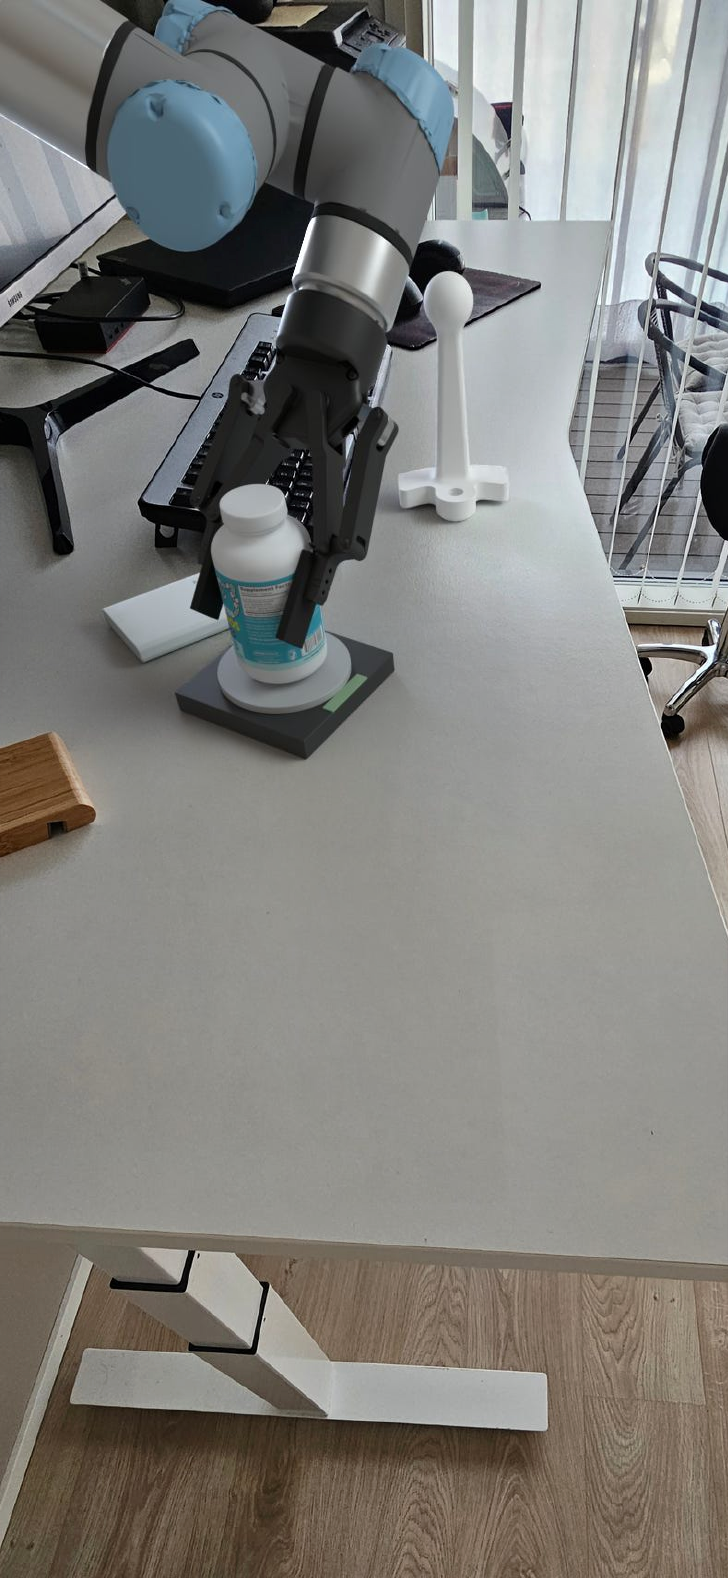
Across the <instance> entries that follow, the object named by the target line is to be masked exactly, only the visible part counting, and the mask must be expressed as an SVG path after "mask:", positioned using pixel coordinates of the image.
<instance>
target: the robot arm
mask: <svg viewBox="0 0 728 1578" xmlns="http://www.w3.org/2000/svg"><path fill="white" fill-rule="evenodd" d="M0 116H1V117H3V118H4V119H6V120H8V121H9V122H10V123H12V124H14V125H16V126H17V127H19V128H21V129H22V130H23V131H26V132H27V133H28V134H30V135H32V136H34V137H35V138H37V139H39V140H41V141H42V142H44V143H45V144H46V145H48V146H50V147H52V148H53V149H55V150H57V151H58V152H60V153H62V154H63V155H65V156H67V157H68V158H70V159H71V160H73V161H75V162H76V163H78V164H80V165H82V166H83V167H85V168H87V169H88V170H90V171H91V172H93V173H94V174H96V175H97V176H100V177H101V178H102V179H104V180H106V181H107V182H109V183H111V186H112V188H113V191H114V194H115V196H116V199H117V201H118V203H119V205H120V206H121V208H122V209H123V210H124V212H125V213H126V214H127V216H128V217H129V219H130V220H131V222H133V224H134V225H135V226H136V228H137V229H138V230H139V231H140V232H141V233H142V234H143V235H144V236H146V237H147V238H149V240H151V241H153V242H154V243H156V244H158V245H160V246H162V247H164V248H167V249H170V250H174V251H177V252H186V253H188V252H196V251H200V250H201V251H202V250H204V249H206V248H209V247H211V246H213V245H214V244H216V243H217V242H219V241H220V240H221V239H223V237H225V236H226V235H227V234H228V233H230V232H231V231H233V230H234V228H235V227H236V226H238V225H239V224H240V223H241V222H243V221H242V220H243V219H244V217H245V215H246V214H247V212H248V210H251V207H252V204H253V203H254V199H255V197H256V195H257V193H258V191H259V190H260V189H261V188H262V186H263V185H264V184H268V185H271V186H273V187H274V188H277V189H279V190H281V191H284V192H285V193H287V194H290V195H292V196H294V197H296V198H298V199H301V200H303V201H307V202H309V203H311V204H314V206H313V210H312V214H311V215H310V219H309V224H308V226H307V229H306V232H305V236H304V240H303V243H302V246H301V249H300V253H299V255H298V256H299V257H298V259H297V262H296V266H295V269H294V272H293V276H292V279H291V281H292V286H293V289H294V291H293V292H291V293H290V294H288V296H287V299H286V302H285V306H284V308H283V312H282V316H281V319H280V323H279V326H278V329H277V333H276V337H275V360H274V364H273V365H272V367H271V369H270V370H269V371H268V372H267V374H266V375H265V377H264V379H252V380H249V379H246V378H245V377H244V376H243V375H241V374H240V373H234V374H233V375H232V376H231V377H230V379H229V382H228V390H227V400H226V406H225V409H224V412H223V414H222V417H221V419H220V422H219V424H218V426H217V429H216V431H215V434H214V436H213V439H212V442H211V444H210V446H209V449H208V451H207V453H206V454H207V455H206V456H205V459H204V461H203V463H202V466H201V467H200V468H201V469H200V471H199V474H198V476H197V479H196V481H195V483H194V486H193V488H192V491H191V493H190V496H189V503H190V505H191V506H192V507H193V508H195V509H196V510H198V511H199V512H200V513H201V514H202V515H204V517H205V520H206V525H205V529H204V533H203V537H202V539H201V544H200V547H199V550H198V554H197V564H198V565H199V566H201V567H200V571H199V573H200V574H199V578H198V581H197V585H196V588H195V592H194V595H193V599H192V602H191V606H190V609H192V610H194V611H197V612H199V613H201V614H203V615H206V616H208V617H210V618H213V619H216V620H219V617H220V613H221V610H222V606H223V600H222V596H221V592H220V588H219V584H218V580H217V576H216V572H215V568H214V564H213V559H212V554H211V545H212V541H213V538H214V536H215V534H216V532H217V531H218V530H219V529H220V528H221V526H223V525H224V523H223V521H222V516H221V511H220V500H221V499H222V497H223V496H224V495H225V494H226V493H228V492H229V491H231V490H233V489H235V488H238V487H241V486H245V485H251V484H265V485H267V483H268V481H269V480H270V478H271V477H272V475H273V474H274V472H275V471H276V469H277V468H278V466H279V465H280V463H282V461H283V460H287V459H288V458H290V456H291V455H292V454H293V452H294V450H298V451H299V450H300V451H301V450H308V452H309V455H310V457H311V464H312V466H311V467H312V468H311V469H312V523H313V524H312V525H313V526H312V527H313V531H312V532H313V541H311V543H310V542H309V547H310V548H311V549H312V551H314V552H315V553H314V552H313V553H312V552H310V551H307V550H303V549H302V552H301V555H300V558H299V561H298V565H297V568H296V571H295V575H294V578H293V581H292V584H291V588H290V591H289V594H288V597H287V601H286V604H285V607H284V610H283V614H282V617H281V620H280V624H279V627H278V630H277V633H276V637H275V638H277V639H279V640H281V641H284V642H286V643H288V644H290V645H292V646H295V647H298V648H301V649H303V645H304V642H305V639H306V636H307V633H308V629H309V626H310V623H311V620H312V617H313V613H314V610H315V607H316V604H318V605H321V607H323V606H324V605H325V603H326V602H327V601H328V598H329V594H330V591H331V588H332V585H333V582H334V578H335V575H336V572H337V569H338V567H339V565H340V564H341V563H342V562H345V561H353V560H355V561H357V562H362V561H364V560H365V559H366V558H367V556H368V553H369V547H370V542H371V537H372V532H373V528H374V527H373V526H374V521H375V516H376V510H377V506H378V502H379V501H378V500H379V495H380V490H381V486H382V480H383V475H384V470H385V465H386V464H385V463H386V459H387V455H388V454H389V452H390V450H391V448H392V446H393V444H394V442H395V440H396V438H397V436H398V435H399V428H400V427H399V425H398V424H397V423H396V421H395V420H394V419H393V418H392V417H391V416H390V415H389V414H388V413H387V412H386V411H385V410H384V409H383V408H382V407H381V406H374V407H372V406H370V404H369V392H370V391H371V390H372V389H373V388H374V387H375V385H376V383H377V378H378V375H379V372H380V369H381V365H382V362H383V361H384V360H383V359H384V356H385V353H386V349H387V347H388V339H387V336H386V333H388V332H390V331H391V330H392V329H393V326H394V322H395V319H396V316H397V312H398V309H399V306H400V304H401V300H402V297H403V293H404V290H405V287H406V284H407V281H408V277H409V275H410V270H411V268H412V264H413V261H414V259H415V255H416V252H417V249H418V246H419V243H420V240H421V236H422V234H423V230H424V227H425V223H426V222H427V218H428V215H429V212H430V209H431V206H432V203H433V200H434V197H435V194H436V191H437V187H438V185H439V182H440V177H441V174H442V170H443V167H444V162H445V158H446V154H447V150H448V147H449V144H450V139H451V135H452V131H453V127H454V123H455V105H454V99H453V96H452V93H451V90H450V88H449V86H448V84H447V83H446V81H445V79H444V78H443V76H442V75H441V74H440V73H439V72H438V70H437V69H436V68H435V67H434V66H433V65H432V64H430V62H429V61H427V60H426V59H425V58H424V57H422V56H421V55H419V54H418V53H416V52H414V51H413V50H410V49H409V48H406V47H404V46H401V45H399V46H396V47H395V48H392V47H391V46H390V45H388V44H387V43H385V42H377V43H373V44H370V45H369V46H366V47H365V48H364V49H363V50H361V52H359V54H358V56H357V59H356V61H355V63H354V65H352V66H351V67H350V70H349V72H348V71H346V70H344V69H341V68H340V67H338V66H337V67H334V66H332V65H330V64H328V63H325V62H323V61H321V60H319V59H318V58H316V57H314V56H312V55H310V54H308V53H306V52H304V51H303V50H301V49H299V48H297V47H295V46H293V45H291V44H289V43H287V42H285V41H283V40H282V39H279V38H278V37H276V36H274V35H272V34H270V33H268V32H266V31H264V30H262V29H261V28H259V27H257V26H255V25H253V24H251V23H249V22H247V21H245V20H243V19H242V18H240V17H238V16H237V15H236V14H235V13H233V11H232V10H230V9H228V8H226V7H224V6H222V5H221V6H215V5H213V4H211V3H208V2H205V1H203V0H167V2H166V3H165V5H164V7H163V10H162V15H161V17H160V18H159V19H158V21H157V24H156V27H155V32H154V34H153V35H151V34H150V33H149V32H147V31H145V30H143V29H142V28H141V27H139V26H137V25H135V23H133V22H131V21H130V19H128V18H127V17H126V16H124V15H122V14H121V12H119V11H117V10H115V9H113V8H112V7H110V6H109V5H108V4H107V3H105V2H103V1H102V0H0ZM265 403H266V409H265V407H264V405H265ZM259 416H260V418H259ZM356 429H357V434H358V436H357V439H356V441H355V445H354V446H355V447H354V449H353V450H354V451H353V456H352V462H351V467H350V470H349V471H350V472H349V476H348V483H347V488H346V493H345V498H344V469H346V468H347V438H348V437H349V436H350V435H351V434H352V433H353V432H354V431H355V430H356ZM274 434H275V435H276V437H277V438H276V437H275V436H274Z"/></svg>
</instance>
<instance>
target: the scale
mask: <svg viewBox="0 0 728 1578" xmlns="http://www.w3.org/2000/svg"><path fill="white" fill-rule="evenodd" d="M325 634H326V641H327V655H326V658H325V660H324V662H323V664H322V665H321V666H320V667H319V668H318V669H317V670H316V671H315V672H314V673H312V674H311V675H309V676H307V677H305V678H303V679H301V680H298V681H294V682H290V683H283V684H272V683H265V682H261V681H258V680H255V679H253V678H251V677H250V676H248V675H247V674H246V673H245V672H244V671H243V670H242V669H241V667H240V665H239V663H238V661H237V657H236V653H235V649H234V645H233V642H232V643H231V644H230V645H229V646H227V647H226V648H225V649H224V650H223V651H222V652H221V653H220V654H218V655H217V656H216V657H215V658H214V659H211V661H210V662H209V663H207V664H206V665H205V666H204V667H203V668H202V669H200V670H199V671H198V672H197V673H196V674H195V675H194V676H192V677H191V678H190V679H188V681H186V682H185V683H184V684H183V685H182V686H180V687H179V688H178V689H176V691H174V696H175V699H176V703H177V706H178V709H179V711H182V712H183V713H187V714H189V715H191V716H194V717H197V718H200V719H201V720H204V721H207V722H210V723H212V724H215V725H218V726H219V727H223V728H225V729H227V730H230V731H233V732H236V733H238V734H239V735H243V736H246V737H249V738H250V739H253V740H255V741H258V742H261V743H264V744H266V745H268V746H272V747H274V748H277V749H279V750H282V751H285V752H287V753H290V754H292V755H294V756H297V757H300V758H302V759H304V760H308V759H309V757H311V755H313V753H315V752H316V751H317V749H318V748H320V746H321V745H322V744H323V743H324V742H325V741H326V740H328V739H329V737H331V735H332V734H333V733H334V732H335V731H336V730H337V729H338V728H339V727H340V726H342V724H343V723H344V722H345V721H346V720H348V718H349V717H350V716H351V715H352V714H353V713H354V712H355V711H356V710H357V709H358V708H359V707H360V706H361V705H362V704H363V703H364V702H365V701H366V700H367V699H369V697H370V696H371V695H372V694H373V693H374V692H375V691H376V690H377V689H378V688H379V687H380V686H381V685H382V684H383V683H384V682H385V681H386V680H387V679H388V678H389V677H390V676H391V675H392V674H393V673H394V672H395V659H394V653H393V652H391V651H389V650H386V649H382V648H380V647H377V646H374V645H371V644H367V643H364V642H362V641H358V640H355V639H352V638H350V637H347V636H343V635H340V634H338V633H334V632H331V631H329V630H328V631H327V630H325Z"/></svg>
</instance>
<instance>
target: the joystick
mask: <svg viewBox="0 0 728 1578" xmlns="http://www.w3.org/2000/svg"><path fill="white" fill-rule="evenodd" d="M473 308H474V295H473V291H472V288H471V285H470V284H469V282H468V281H467V279H466V278H465V277H464V276H462V275H461V274H459V273H458V272H455V271H451V270H447V271H442V272H439V273H437V274H436V275H434V276H433V277H432V278H431V279H430V280H429V282H428V284H426V287H425V289H424V293H423V309H424V313H425V315H426V318H427V320H428V321H429V322H430V323H431V325H432V326H433V328H434V330H435V333H436V376H435V377H436V380H435V382H436V384H435V385H436V386H435V388H436V389H435V450H434V451H435V453H434V454H435V456H434V466H432V467H426V468H425V467H424V468H420V469H415V470H409V471H405V472H402V473H398V475H397V479H398V480H397V481H398V493H399V494H398V496H399V505H400V507H401V508H402V509H410V508H414V507H417V506H421V505H426V504H431V505H434V506H435V512H436V514H437V515H438V516H439V517H441V519H443V520H445V521H448V522H462V521H465V520H467V519H469V518H470V517H471V516H472V515H474V514H475V512H476V510H477V505H476V504H477V503H476V502H477V501H480V500H486V501H495V502H507V501H508V500H509V499H510V478H509V474H508V470H507V467H506V466H503V465H495V464H494V465H491V464H471V463H470V461H471V460H470V447H469V445H470V444H469V432H468V430H469V429H468V414H467V413H468V412H467V400H466V383H465V367H464V353H463V352H464V351H463V331H464V327H465V325H466V323H467V322H468V320H469V319H470V317H471V315H472V313H473Z"/></svg>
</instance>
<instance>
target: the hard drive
mask: <svg viewBox="0 0 728 1578" xmlns="http://www.w3.org/2000/svg"><path fill="white" fill-rule="evenodd" d="M199 574H200V572H198V573H196V574H193V575H189V576H187V577H184V578H182V579H179V580H176V581H174V582H171V583H168V584H166V585H163V586H160V587H158V588H155V589H151V590H149V591H146V592H144V593H141V594H139V595H135V596H133V597H129V598H128V599H124V600H122V601H119V602H117V603H114V604H112V605H109V606H106V607H104V608H102V609H101V611H102V613H103V614H102V615H103V617H104V619H105V621H106V623H107V625H108V626H109V627H110V628H111V629H112V631H114V633H115V634H116V635H117V636H118V637H119V638H120V640H121V641H122V642H123V643H124V644H125V645H126V647H128V648H129V650H130V651H131V652H132V653H133V654H134V656H135V657H136V658H137V659H138V660H139V661H140V662H141V663H143V664H144V663H146V662H149V661H152V660H154V659H156V658H159V657H161V656H164V655H167V654H169V653H170V652H175V651H176V650H179V649H182V648H184V647H186V646H189V645H192V644H194V643H196V642H198V641H202V640H204V639H207V638H209V637H211V636H214V635H216V634H220V633H221V632H224V631H227V630H230V628H229V624H228V620H227V616H226V612H225V608H224V604H223V606H222V610H221V613H220V617H219V620H216V619H213V618H210V617H208V616H206V615H203V614H201V613H199V612H197V611H194V610H192V609H190V606H191V602H192V599H193V595H194V592H195V588H196V585H197V581H198V578H199Z"/></svg>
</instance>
